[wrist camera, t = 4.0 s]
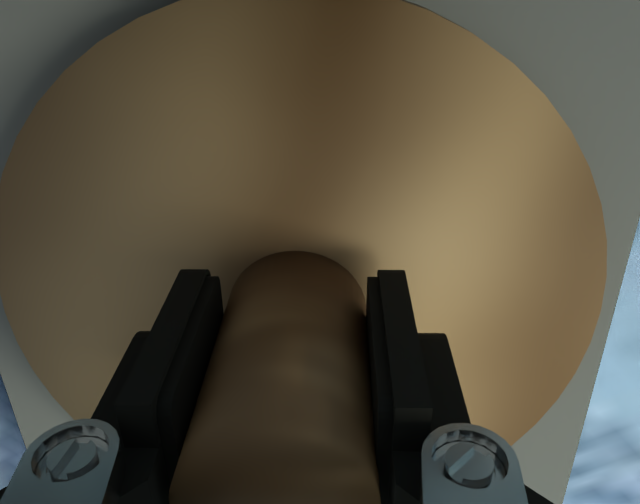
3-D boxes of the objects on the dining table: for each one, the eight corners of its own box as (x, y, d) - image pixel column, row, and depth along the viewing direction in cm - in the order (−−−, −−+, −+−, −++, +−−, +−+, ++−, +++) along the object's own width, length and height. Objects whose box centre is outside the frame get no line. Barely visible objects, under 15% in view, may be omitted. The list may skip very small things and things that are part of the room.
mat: (707, -83, 10) (720, -85, 10) (554, 503, 17) (559, 515, 17) (-137, -71, 10) (-153, -72, 10) (52, 498, 17) (47, 509, 17)
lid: (660, -28, 10) (997, 1, 5) (540, 490, 16) (635, 743, 11) (-72, -13, 10) (-467, 27, 5) (81, 485, 17) (-34, 727, 11)
